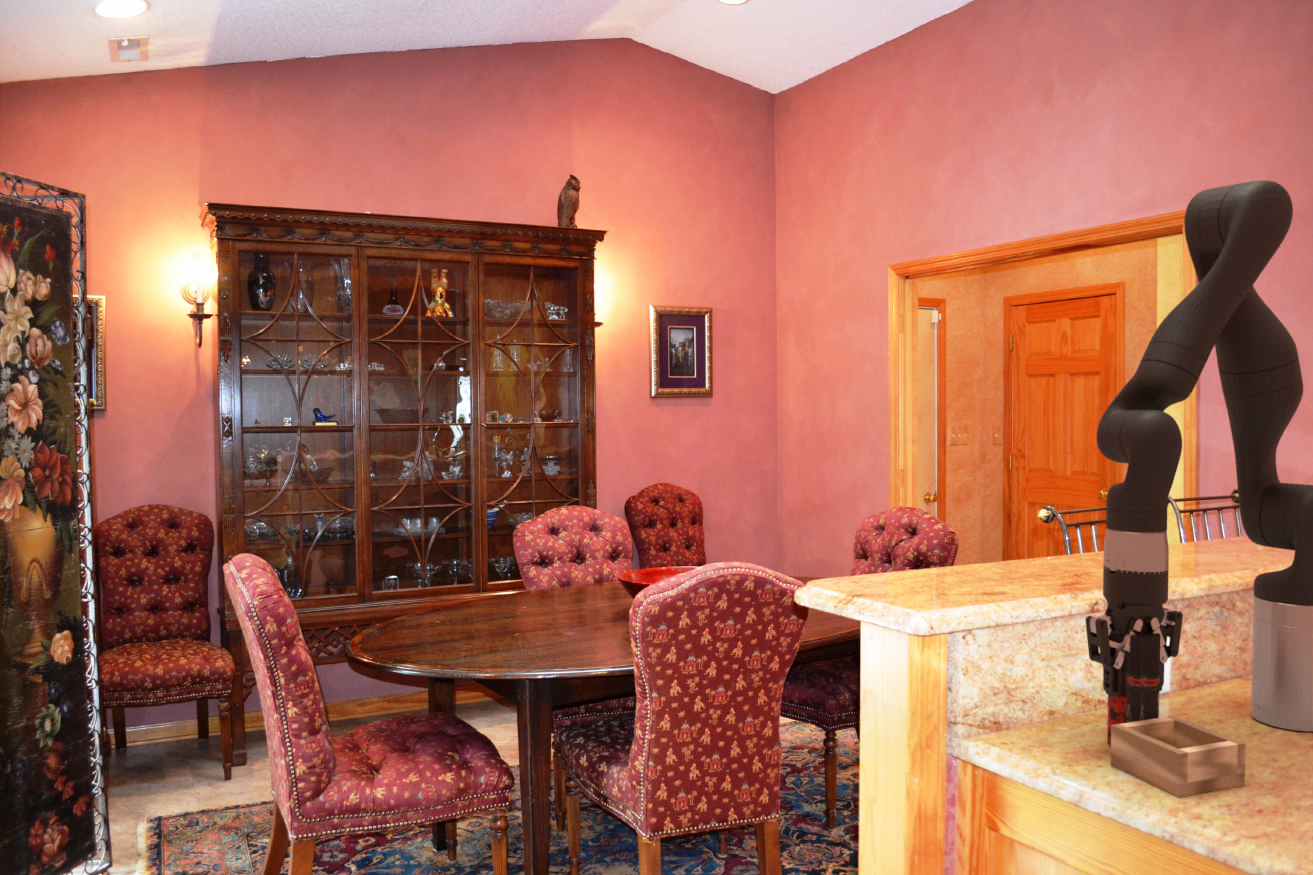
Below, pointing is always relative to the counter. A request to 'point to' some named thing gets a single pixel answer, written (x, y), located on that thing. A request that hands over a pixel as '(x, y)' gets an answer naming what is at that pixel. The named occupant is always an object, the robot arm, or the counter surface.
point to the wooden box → (1178, 755)
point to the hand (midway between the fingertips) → (1133, 692)
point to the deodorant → (1137, 682)
